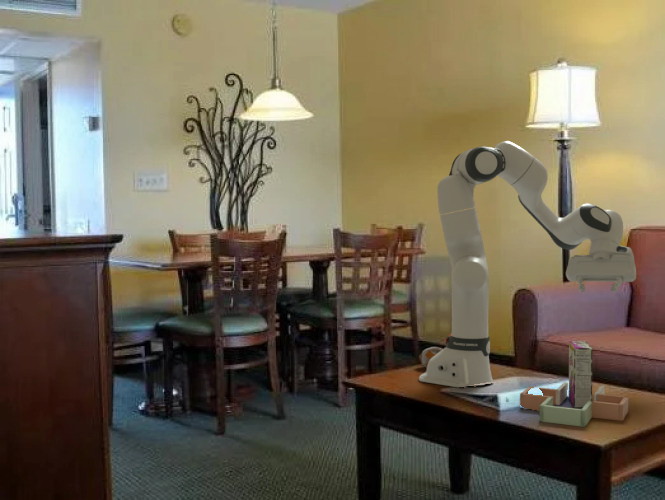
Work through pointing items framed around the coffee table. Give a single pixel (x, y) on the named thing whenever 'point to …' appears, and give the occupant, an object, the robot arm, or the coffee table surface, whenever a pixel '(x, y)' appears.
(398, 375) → the coffee table surface
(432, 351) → the decorative duck model
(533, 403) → the channel
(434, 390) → the coffee table surface
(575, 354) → the candy bar box
